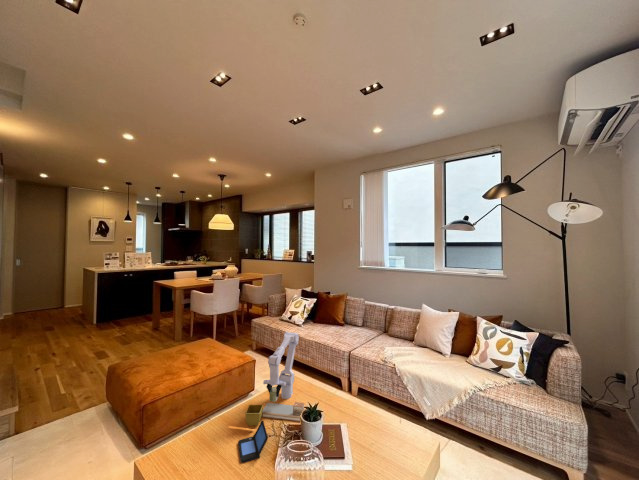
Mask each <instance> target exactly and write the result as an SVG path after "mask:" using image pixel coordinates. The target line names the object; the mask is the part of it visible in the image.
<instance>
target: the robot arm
mask: <svg viewBox="0 0 639 480" xmlns="http://www.w3.org/2000/svg"><path fill="white" fill-rule="evenodd" d="M299 340H300V335H299V333H298V332H289V331H285V333H284V334H283V340H282V342H281V344H280V346H278V347H277V348H276V349H275V351H274V352H273V354H272V355H270V356H268V361H267V363H268V367H269V379H264V380H263V383H262V384H263V385H266V389H267V391H268V394H269V395H270V390H271V389H272V388H273V387H276V389H277V397H278V396H279V397H280V395H281V398H282V399H284V400H288V399H291V398H292V395H293V394H295V393H294V392H293V391H294V389H293V388H294V387H293V384H294V382H295V373H294V372H293V370H292V368H293V365H294V364H293V363H294V358H295V353H296V352H295V351H296V349H297V348H296V347H297V346H298V344H299ZM287 347H288V349H287V356H286V360H285V365H284V369H283V370H282V371H280V364H281V360H282V357H283V355H284V354H285V349H286V348H287ZM280 392H281V393H280ZM279 397H278V398H279Z"/></svg>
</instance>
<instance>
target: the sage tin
mask: <svg viewBox="0 0 639 480" xmlns="http://www.w3.org/2000/svg"><path fill="white" fill-rule="evenodd" d="M276 387H277V386H272V389H271V390H270V394H269V402H270V403H276V402H277V401H278V399H279V397H280V395H279V396H278V397H277V389H276Z"/></svg>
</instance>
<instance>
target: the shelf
mask: <svg viewBox="0 0 639 480" xmlns="http://www.w3.org/2000/svg"><path fill="white" fill-rule="evenodd" d="M293 405H294V404H293ZM293 405H291V404H283V403H276V402H267V403H266V404H265V406H263V411H262V416H261V418H269V419H277V420H286V421H293V422H301V421H300V416H294V415H293Z"/></svg>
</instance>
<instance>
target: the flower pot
mask: <svg viewBox="0 0 639 480" xmlns="http://www.w3.org/2000/svg"><path fill="white" fill-rule="evenodd" d="M263 409H264V405H263V404H248V406H247V409H246V411H245V413H244V415H245V422H246V424H247V426H248V427H249V426H251V427H253V426H256V427H257V426H258V427H259V425H260V423H261V419H262V417H261V416H262V411H263Z"/></svg>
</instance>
